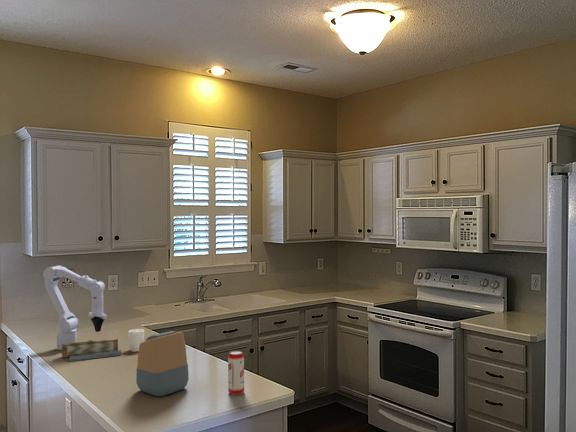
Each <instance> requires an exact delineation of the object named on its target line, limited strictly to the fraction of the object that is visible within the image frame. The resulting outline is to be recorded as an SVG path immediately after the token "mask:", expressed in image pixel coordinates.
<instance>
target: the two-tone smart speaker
mask: <svg viewBox="0 0 576 432" xmlns="http://www.w3.org/2000/svg"><path fill="white" fill-rule="evenodd" d="M184 336H185V335H184V333H183V331H178V332H177V331H176V330H175V331H174V330H171V331H166V332H161V333H158V334H153V335H150V336H148V337H147V338H146V339H145V340H144V342H142V343H140V345H139V351H137V352H138V353H137V366H136V376H135V377H136V379H135V380H136V382H135V383H136V385H137V387H138V389H139V390H141V392H144V393H146V394H149V395H152V396H155V397H158V398H159V397H160V398H161V397H165V396H167V395H169V394H172V393H175V392H178V391H181V390H184V389H185V388H186V386H187V385H188V383H189V363H188V360H187V359H188V357H187V349H186V347H187V346H186V342H185V337H184Z"/></svg>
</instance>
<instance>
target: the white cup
mask: <svg viewBox="0 0 576 432" xmlns="http://www.w3.org/2000/svg"><path fill="white" fill-rule="evenodd" d="M127 334H128V346H129V351H130V352H138V351H139V345H140V343H142V342H145V329H143V328H134V329H130V330H128V333H127Z"/></svg>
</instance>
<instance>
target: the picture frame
mask: <svg viewBox="0 0 576 432" xmlns="http://www.w3.org/2000/svg"><path fill="white" fill-rule="evenodd" d="M115 350H119V338H107V339H98V340H88V341H81V342H80V341H77V343H67V344H62V350H61V354H62V355H61V356H62V357H61V358H69V356H71V355H80V354H89V353H97V352H106V351H115Z"/></svg>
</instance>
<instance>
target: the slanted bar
mask: <svg viewBox="0 0 576 432" xmlns="http://www.w3.org/2000/svg"><path fill="white" fill-rule="evenodd" d="M122 354H123V353H122V349H118V350H115V351H106V352H97V353H89V354H80V355H71V356H69V357H68V358H69V360H68V361H69V362H76V361H77V362H78V361H84V360H92V359H94V360H95V359H101V358H109V357H118V356H122Z"/></svg>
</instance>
